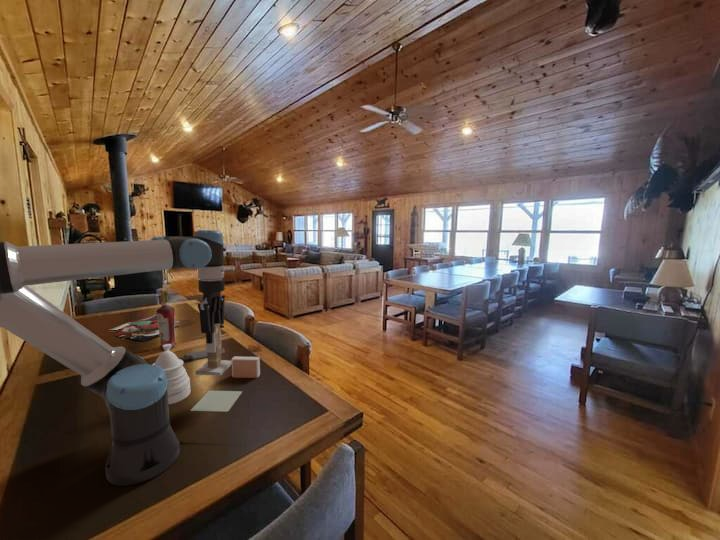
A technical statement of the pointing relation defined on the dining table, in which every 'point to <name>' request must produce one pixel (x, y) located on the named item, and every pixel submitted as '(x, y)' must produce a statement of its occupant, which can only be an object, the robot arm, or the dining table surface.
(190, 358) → the cleaver
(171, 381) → the honey pot
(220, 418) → the dining table surface
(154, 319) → the multicoloured flat piece
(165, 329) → the dark red glass bottle
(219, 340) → the wooden handled stamp
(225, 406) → the mat
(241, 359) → the tile
